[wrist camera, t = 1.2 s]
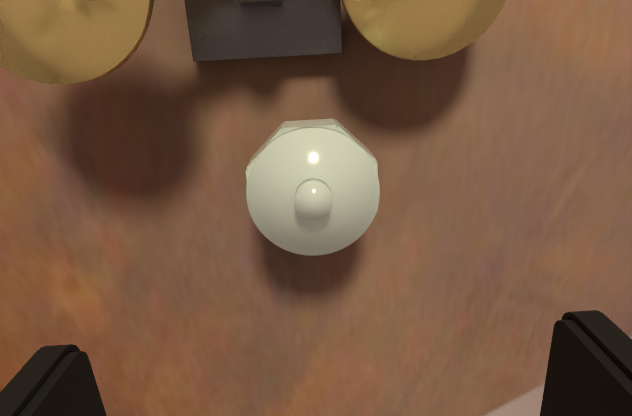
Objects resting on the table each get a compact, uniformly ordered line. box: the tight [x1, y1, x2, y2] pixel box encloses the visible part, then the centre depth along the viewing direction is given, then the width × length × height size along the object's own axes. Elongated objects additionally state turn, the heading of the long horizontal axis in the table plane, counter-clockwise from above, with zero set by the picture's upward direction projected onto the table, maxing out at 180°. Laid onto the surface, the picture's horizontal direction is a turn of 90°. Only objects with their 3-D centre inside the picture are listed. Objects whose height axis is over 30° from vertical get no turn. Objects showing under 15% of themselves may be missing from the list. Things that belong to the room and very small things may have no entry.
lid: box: [246, 119, 380, 256], centre depth 22 cm, size 7×7×4 cm
